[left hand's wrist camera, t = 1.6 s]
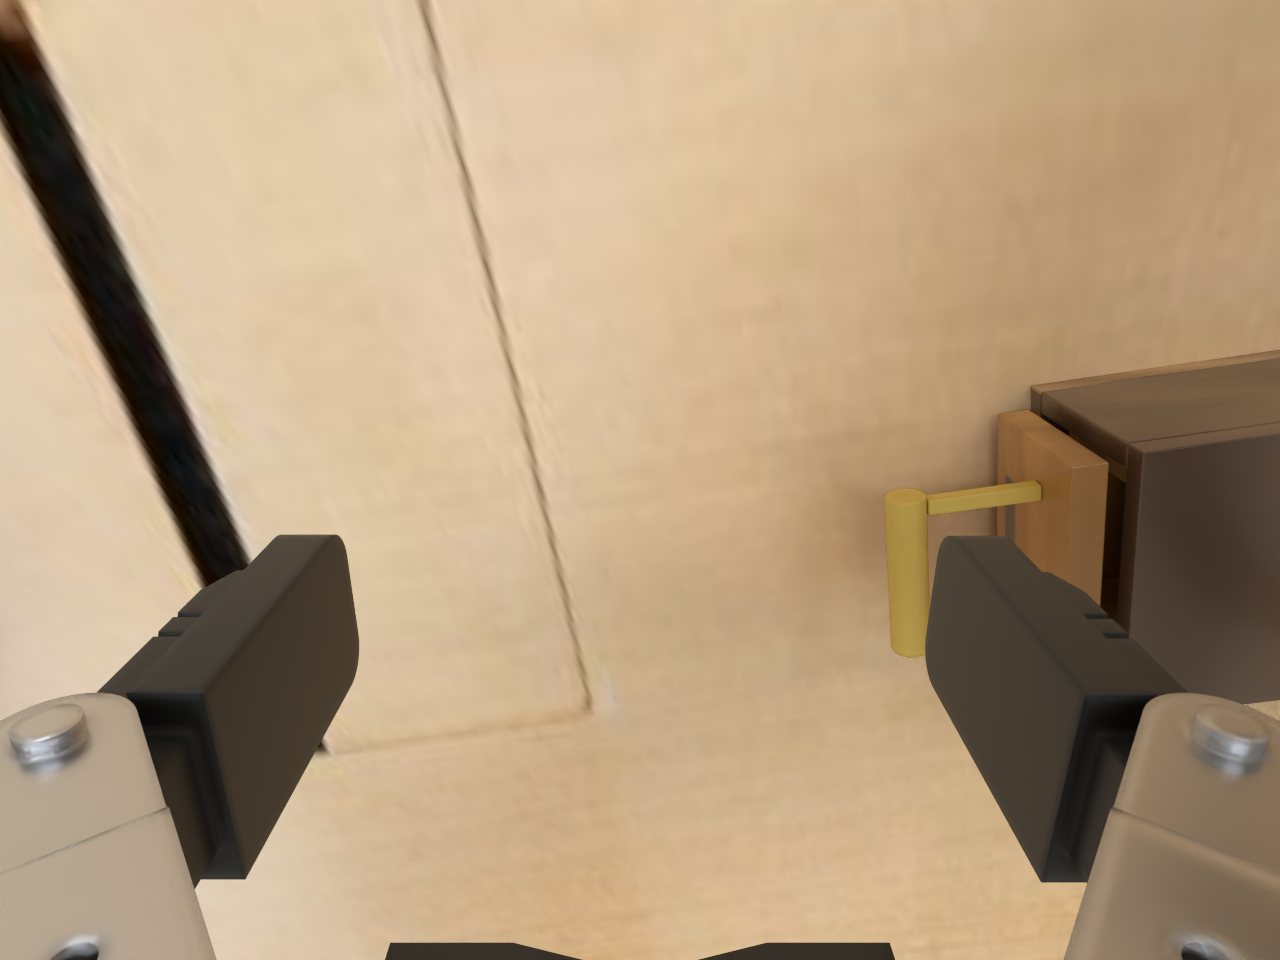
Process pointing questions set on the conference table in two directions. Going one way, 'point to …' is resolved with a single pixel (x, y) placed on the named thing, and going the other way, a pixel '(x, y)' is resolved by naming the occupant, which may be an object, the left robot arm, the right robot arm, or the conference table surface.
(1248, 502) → the cabinet
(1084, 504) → the drawer
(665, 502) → the conference table surface
